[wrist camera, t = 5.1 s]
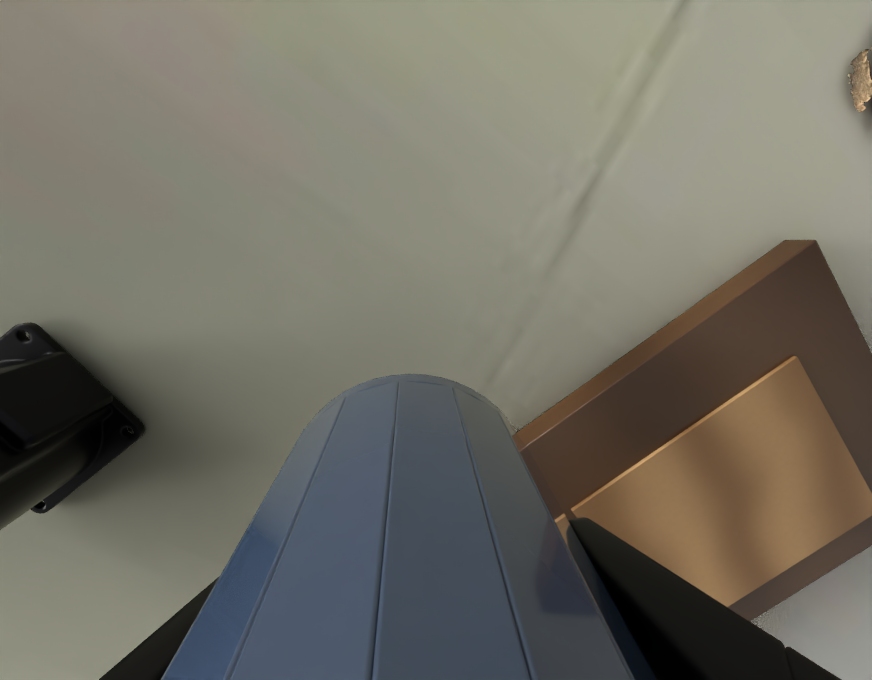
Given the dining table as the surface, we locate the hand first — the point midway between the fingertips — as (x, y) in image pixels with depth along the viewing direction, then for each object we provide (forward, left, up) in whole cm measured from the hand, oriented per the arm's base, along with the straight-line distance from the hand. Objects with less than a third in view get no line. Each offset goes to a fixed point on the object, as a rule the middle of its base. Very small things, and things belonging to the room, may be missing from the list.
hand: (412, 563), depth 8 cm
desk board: (+7, -13, -12) cm, 19 cm away
